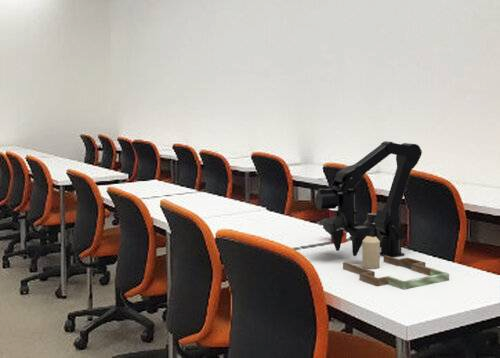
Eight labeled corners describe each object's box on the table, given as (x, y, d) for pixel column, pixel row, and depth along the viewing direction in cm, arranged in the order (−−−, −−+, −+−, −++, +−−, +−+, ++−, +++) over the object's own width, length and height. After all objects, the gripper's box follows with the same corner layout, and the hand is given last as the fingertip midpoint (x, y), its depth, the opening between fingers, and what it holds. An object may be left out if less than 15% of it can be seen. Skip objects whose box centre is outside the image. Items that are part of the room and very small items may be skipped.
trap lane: (394, 259, 218) (394, 253, 218) (458, 278, 195) (458, 271, 194) (332, 270, 205) (332, 264, 205) (393, 291, 182) (393, 284, 181)
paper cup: (350, 243, 244) (350, 206, 242) (329, 244, 244) (329, 207, 242) (347, 239, 252) (347, 203, 250) (327, 239, 252) (327, 203, 250)
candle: (380, 265, 211) (381, 235, 210) (378, 269, 206) (378, 238, 205) (363, 264, 213) (363, 234, 212) (360, 268, 208) (361, 237, 206)
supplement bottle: (373, 243, 244) (373, 211, 243) (386, 246, 239) (387, 214, 237) (360, 245, 240) (360, 213, 239) (373, 249, 235) (373, 216, 233)
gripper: (310, 206, 222) (310, 251, 224) (344, 213, 206) (344, 262, 208) (336, 203, 228) (336, 247, 229) (371, 210, 212) (371, 257, 213)
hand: (346, 253), depth 220 cm, fingers open, 9 cm apart
